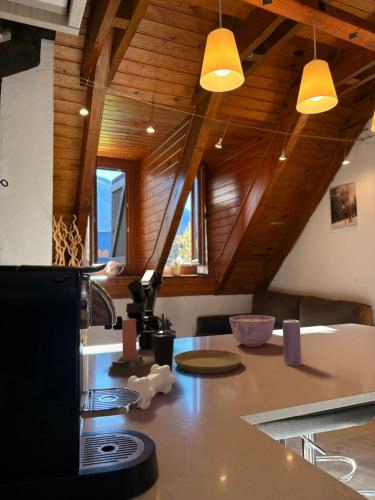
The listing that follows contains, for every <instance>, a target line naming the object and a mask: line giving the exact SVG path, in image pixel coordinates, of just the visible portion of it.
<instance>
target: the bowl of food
mask: <svg viewBox="0 0 375 500" xmlns="http://www.w3.org/2000/svg"><path fill="white" fill-rule="evenodd" d="M228 319H229V324H230V329H231V332H232V335H233V338H234V339H235V340H236V341H237V342H239V343H240V344H243V346H245V347H253V348H255V347H256V346H257V347H261V345H262V346H263V345H264V344H266V343H267V342H269V341H270V340H271V338H273V337H272V336H273V332H274V327H275V322H276V317H274V316H270V315H261V314H260V315H259V314H244V315H234V316H230V317H229V318H228ZM257 347H256V348H257Z"/></svg>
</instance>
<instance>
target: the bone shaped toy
mask: <svg viewBox="0 0 375 500" xmlns="http://www.w3.org/2000/svg"><path fill="white" fill-rule="evenodd" d="M176 380H177V378H176V376H175V375H174V374H173V373H171V371H170V367H169V366H168V365H164V366H159V365H158V364H155V363H154V364H153V365H152V366H151V368H150V372H149V374H148V375H147V376H142V377H137V376H136V375H130V377H129V378H128V379H127V384H126V387H125V388H124V389H128V390H132V391H136V392H138V393H139V394H141V396H142V402H141V405H140V406H139V407H138V408H140V409H141V410H144V411H145V410H147V409H148V408H149V407H150V405H151V400H152V398H154V397H155V395H156V394H158V393H163V394H164V395H168V394H169V393H170V392H171V391H172V386H173V384H174V383H176Z"/></svg>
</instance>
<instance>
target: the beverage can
mask: <svg viewBox="0 0 375 500" xmlns="http://www.w3.org/2000/svg"><path fill="white" fill-rule="evenodd" d="M301 339H302V337H301V323H300V320H298V319H284V320H282V346H283V349H282V350H283V362H284V364H285V365H287V366H291V367H292V366H300V365H301V364H302V344H301V343H302V340H301Z"/></svg>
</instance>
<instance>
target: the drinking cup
mask: <svg viewBox="0 0 375 500" xmlns="http://www.w3.org/2000/svg"><path fill="white" fill-rule="evenodd" d="M164 315H165V314H164V313H161V329H159V330H158V331H156V332H155V333H152V334H151V336H152V339H153V348H152V349H153V356H154V365H155V364H158V365H159V366H164V365H168V366H169V367H170V371H171V373H172V372H173V363H174V362H173V361H174V344H175V343H174V341H175V336H176V333H175V332H174V331H171V330H167V329H165V316H164ZM172 374H173V373H172Z"/></svg>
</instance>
